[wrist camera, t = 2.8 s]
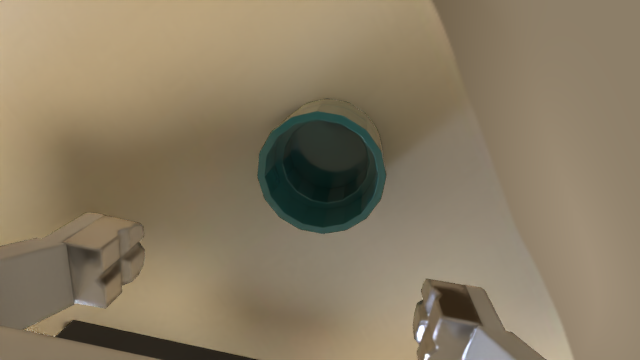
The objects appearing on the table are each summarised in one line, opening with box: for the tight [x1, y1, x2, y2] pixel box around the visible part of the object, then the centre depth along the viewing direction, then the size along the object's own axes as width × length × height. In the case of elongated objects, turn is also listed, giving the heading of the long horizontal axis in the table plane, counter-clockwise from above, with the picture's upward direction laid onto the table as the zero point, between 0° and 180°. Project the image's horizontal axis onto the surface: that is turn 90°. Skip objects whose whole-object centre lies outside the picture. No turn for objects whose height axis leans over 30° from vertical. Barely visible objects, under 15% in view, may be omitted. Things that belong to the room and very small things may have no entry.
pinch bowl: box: [257, 99, 386, 234], centre depth 20 cm, size 6×6×5 cm
